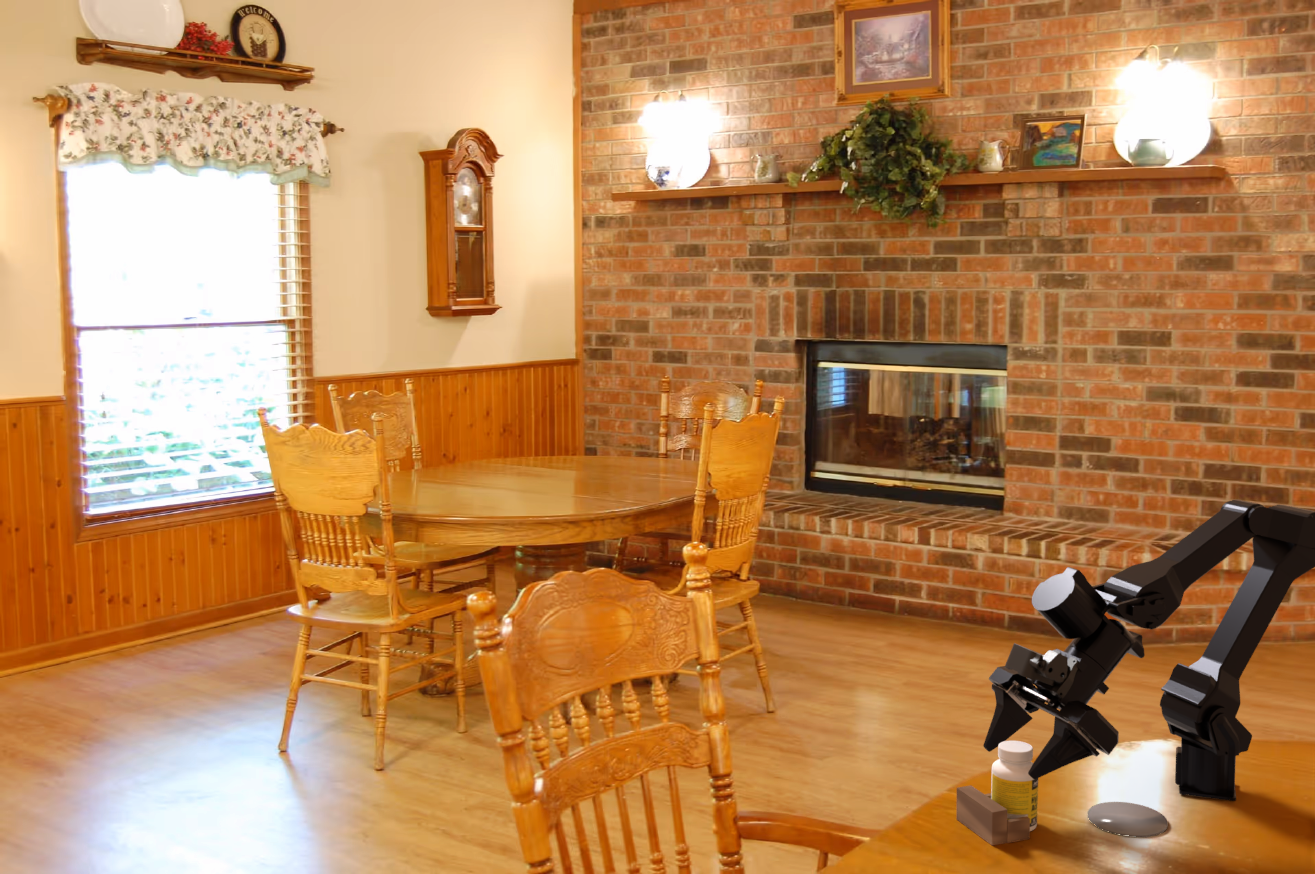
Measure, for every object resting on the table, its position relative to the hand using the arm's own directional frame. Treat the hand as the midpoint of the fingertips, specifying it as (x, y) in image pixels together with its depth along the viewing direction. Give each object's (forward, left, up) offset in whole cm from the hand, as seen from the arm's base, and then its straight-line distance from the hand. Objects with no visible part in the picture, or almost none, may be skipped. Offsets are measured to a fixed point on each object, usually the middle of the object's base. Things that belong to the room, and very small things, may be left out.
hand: (1007, 762), depth 147 cm
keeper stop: (+2, +1, -8) cm, 8 cm away
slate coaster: (-13, -6, -8) cm, 17 cm away
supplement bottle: (-1, -1, -8) cm, 8 cm away
